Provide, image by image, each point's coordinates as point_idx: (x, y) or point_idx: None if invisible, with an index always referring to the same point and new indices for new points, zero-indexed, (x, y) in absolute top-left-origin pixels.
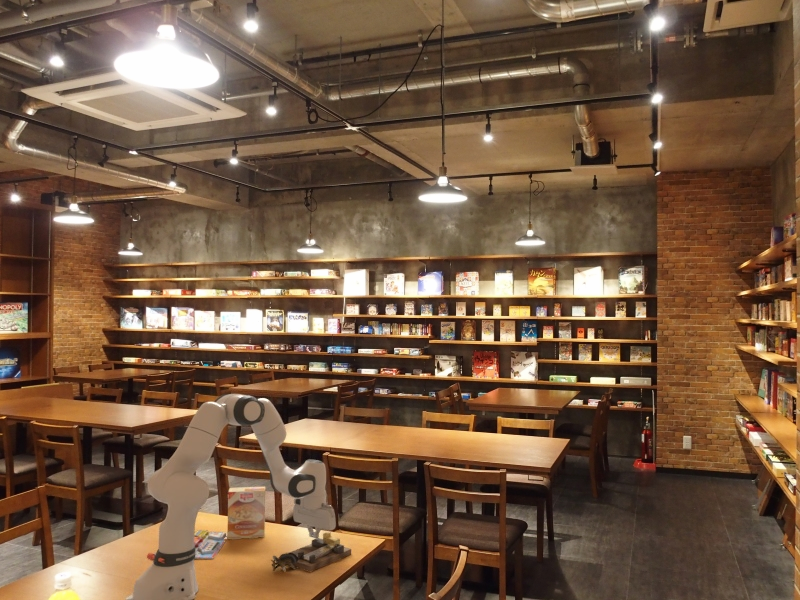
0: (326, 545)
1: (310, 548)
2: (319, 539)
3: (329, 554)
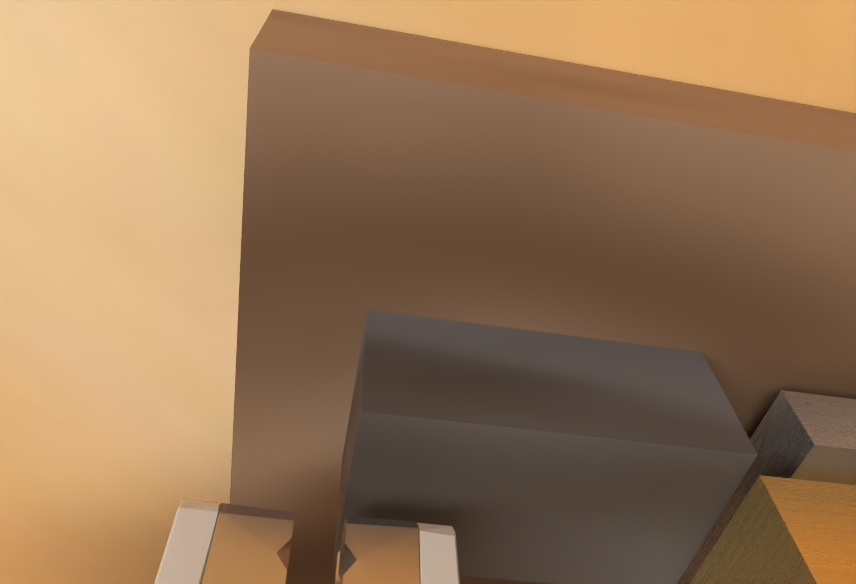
0: None
1: None
2: (470, 468)
3: None
